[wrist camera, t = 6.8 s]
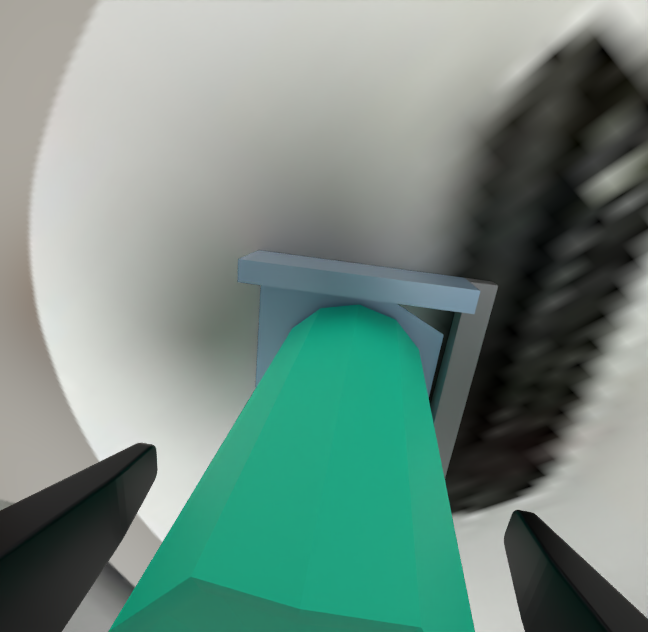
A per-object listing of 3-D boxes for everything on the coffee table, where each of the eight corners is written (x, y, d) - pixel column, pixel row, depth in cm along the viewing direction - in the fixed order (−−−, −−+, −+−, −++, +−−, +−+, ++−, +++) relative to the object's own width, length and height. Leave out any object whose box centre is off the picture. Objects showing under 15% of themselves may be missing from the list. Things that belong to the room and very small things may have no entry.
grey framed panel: (487, 278, 13) (512, 294, 11) (404, 589, 19) (410, 644, 17) (259, 249, 14) (238, 259, 12) (244, 557, 20) (228, 606, 17)
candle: (442, 409, 15) (612, 1097, 4) (315, 441, 16) (174, 975, 5) (392, 281, 13) (436, 849, 2) (256, 331, 15) (-115, 786, 4)
